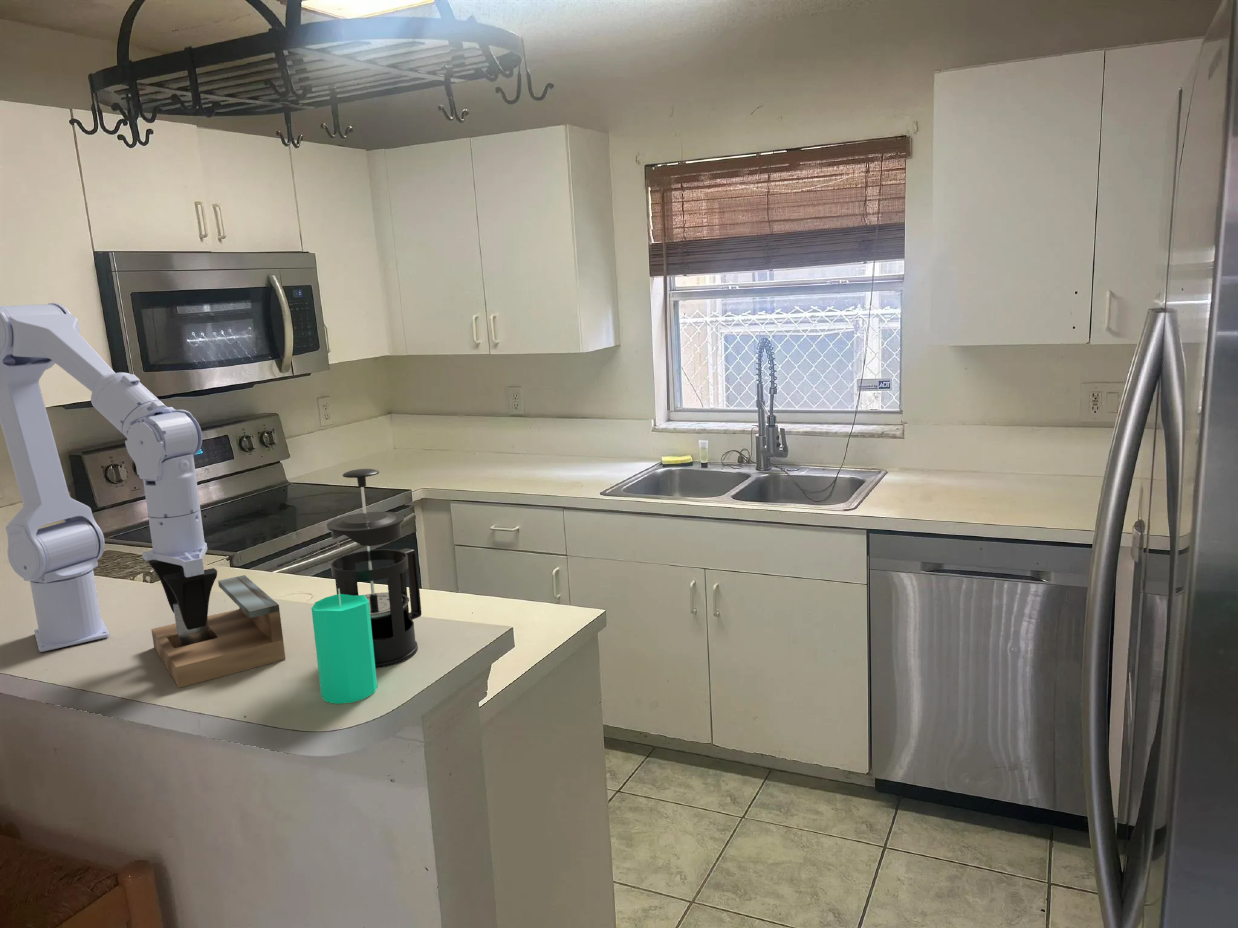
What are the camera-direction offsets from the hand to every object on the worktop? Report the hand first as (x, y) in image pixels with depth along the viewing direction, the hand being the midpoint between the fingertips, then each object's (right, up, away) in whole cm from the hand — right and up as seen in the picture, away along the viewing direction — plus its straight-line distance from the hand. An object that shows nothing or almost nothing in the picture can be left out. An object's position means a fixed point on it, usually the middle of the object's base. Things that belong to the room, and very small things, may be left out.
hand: (189, 618), depth 111 cm
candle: (+23, -6, -11) cm, 27 cm away
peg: (0, -5, +1) cm, 5 cm away
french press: (+24, -4, 0) cm, 24 cm away
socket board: (+3, -5, +1) cm, 6 cm away
